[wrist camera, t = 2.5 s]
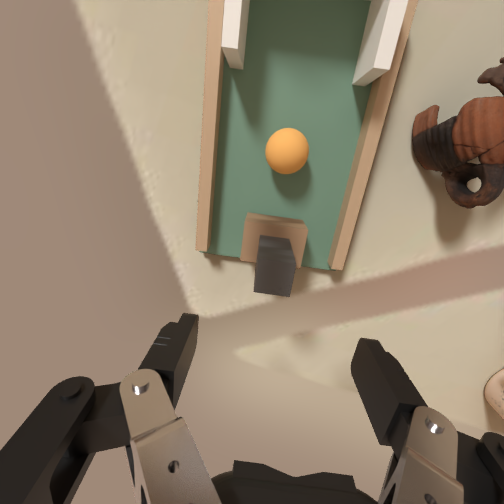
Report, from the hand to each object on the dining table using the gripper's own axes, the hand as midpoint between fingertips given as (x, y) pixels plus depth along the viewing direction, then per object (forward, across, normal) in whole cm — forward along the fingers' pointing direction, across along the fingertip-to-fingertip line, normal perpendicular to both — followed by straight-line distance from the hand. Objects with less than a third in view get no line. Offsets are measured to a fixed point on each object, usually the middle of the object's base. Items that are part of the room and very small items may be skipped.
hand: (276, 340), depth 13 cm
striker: (+17, 0, 0) cm, 17 cm away
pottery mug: (+18, -17, -12) cm, 28 cm away
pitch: (+18, 0, -10) cm, 21 cm away
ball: (+15, 0, -9) cm, 18 cm away
